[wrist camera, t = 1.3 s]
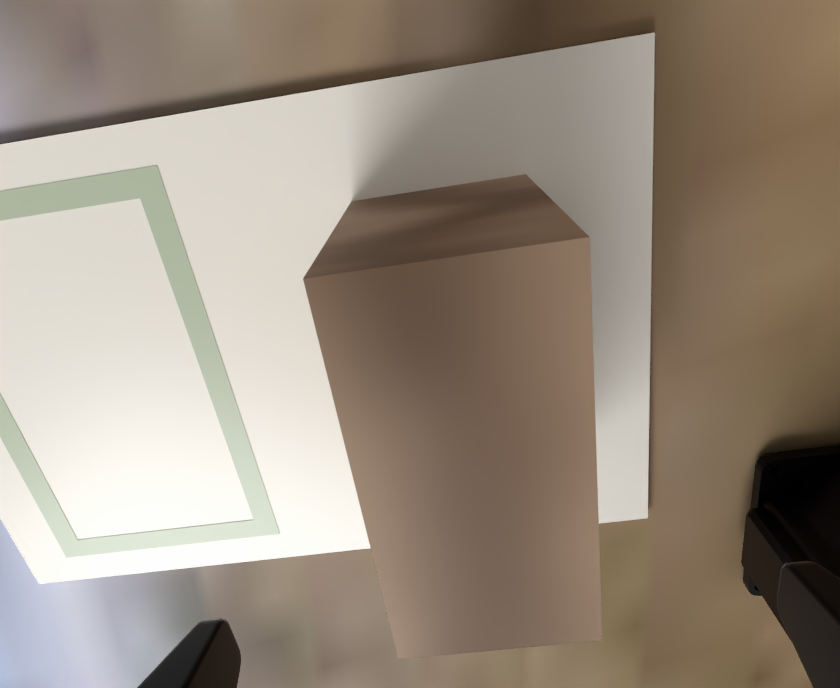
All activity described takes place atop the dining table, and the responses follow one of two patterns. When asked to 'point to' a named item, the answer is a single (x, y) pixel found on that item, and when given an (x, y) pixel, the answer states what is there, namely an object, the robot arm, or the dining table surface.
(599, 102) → the white flat sheet
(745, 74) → the dining table surface
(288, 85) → the dining table surface
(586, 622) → the walnut block
